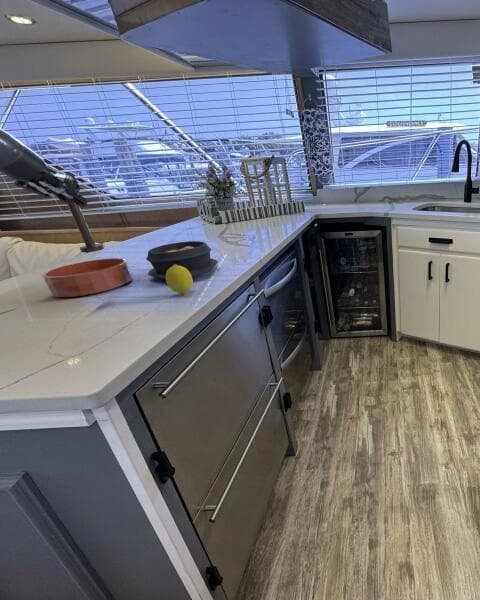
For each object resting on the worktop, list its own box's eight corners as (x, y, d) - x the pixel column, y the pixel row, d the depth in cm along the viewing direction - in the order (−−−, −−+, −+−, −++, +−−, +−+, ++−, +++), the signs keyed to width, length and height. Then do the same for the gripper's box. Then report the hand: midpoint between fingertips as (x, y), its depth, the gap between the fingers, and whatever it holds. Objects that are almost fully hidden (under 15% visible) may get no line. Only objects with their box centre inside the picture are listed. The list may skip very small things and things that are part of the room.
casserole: (228, 274, 97) (221, 247, 93) (153, 291, 86) (142, 261, 83) (210, 259, 114) (204, 235, 111) (147, 271, 104) (137, 245, 100)
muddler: (77, 253, 85) (48, 189, 79) (87, 249, 89) (60, 188, 83) (98, 251, 86) (71, 188, 80) (107, 247, 90) (82, 187, 84)
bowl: (36, 303, 81) (24, 281, 79) (76, 281, 96) (67, 262, 94) (116, 293, 86) (107, 272, 83) (142, 274, 101) (135, 255, 98)
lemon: (200, 292, 84) (191, 263, 80) (178, 300, 79) (167, 269, 76) (190, 289, 86) (180, 260, 83) (167, 296, 82) (157, 266, 79)
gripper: (43, 138, 70) (110, 192, 86) (-20, 141, 70) (59, 194, 86) (30, 164, 67) (102, 215, 84) (-36, 167, 67) (49, 217, 83)
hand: (80, 204), depth 85 cm, fingers closed on muddler
